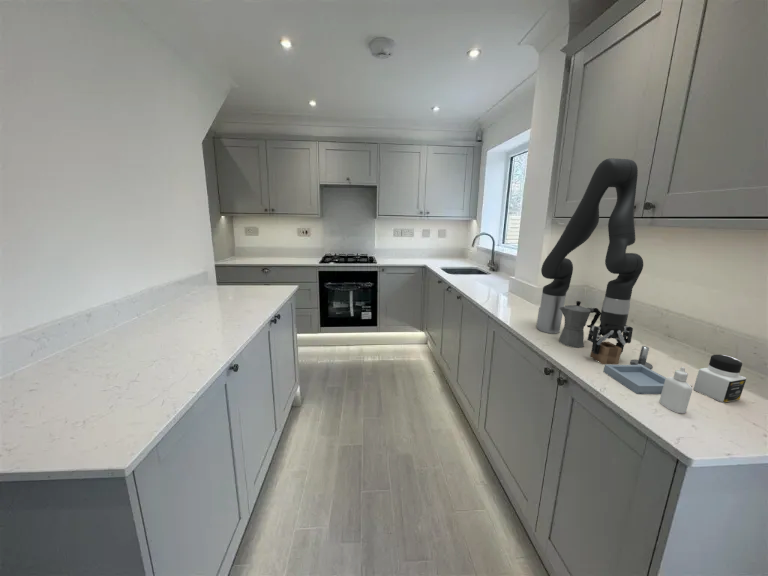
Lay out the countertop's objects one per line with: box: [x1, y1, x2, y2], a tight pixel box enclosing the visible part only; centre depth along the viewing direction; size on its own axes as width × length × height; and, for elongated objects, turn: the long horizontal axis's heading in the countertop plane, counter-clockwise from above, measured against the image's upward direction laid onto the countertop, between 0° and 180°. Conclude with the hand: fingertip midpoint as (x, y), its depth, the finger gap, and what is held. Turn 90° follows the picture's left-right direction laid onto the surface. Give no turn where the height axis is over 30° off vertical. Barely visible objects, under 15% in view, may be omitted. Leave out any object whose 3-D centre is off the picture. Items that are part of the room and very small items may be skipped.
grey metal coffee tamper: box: [629, 345, 653, 370], centre depth 105 cm, size 6×6×7 cm
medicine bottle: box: [692, 354, 747, 404], centre depth 88 cm, size 7×7×12 cm
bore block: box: [589, 341, 622, 365], centre depth 109 cm, size 6×6×6 cm
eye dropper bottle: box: [659, 366, 693, 414], centre depth 81 cm, size 4×6×12 cm
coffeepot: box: [558, 300, 601, 349], centre depth 122 cm, size 15×9×18 cm, turn 82°
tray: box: [603, 364, 667, 395], centre depth 95 cm, size 13×13×3 cm
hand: (606, 353), depth 108 cm, fingers open, 8 cm apart
